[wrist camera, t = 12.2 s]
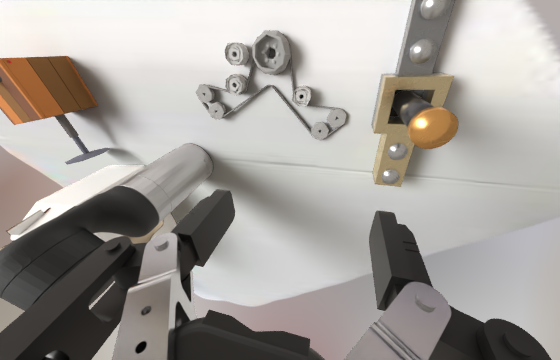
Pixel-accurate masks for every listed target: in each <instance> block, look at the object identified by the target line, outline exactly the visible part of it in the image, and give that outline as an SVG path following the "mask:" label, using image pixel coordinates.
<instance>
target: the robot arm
mask: <svg viewBox="0 0 560 360" xmlns="http://www.w3.org/2000/svg"><path fill="white" fill-rule="evenodd" d="M212 171H213V164H212V161H211V159H210V157H209V155H208V154H207V153H206V152H205V151H204V150H203V149H202V148H200V147H199V146H197V145H194V144H184V145H182V146H181V147H179V148H177V149H174V150H172V151H171V152H169V153H167V154H166V155H164V156H162V157H161V158H159V159H157V160H156V161H154V162H152V163H151V164H149V165H147V166H146V167H145V168H144V169H142V170H141V171H139V172H137V173H136V174H134V175H132V176H131V177H129V178H128V179H126V180H124V181H123V182H121V183H119V184H118V185H116V186H115V187H113V188H111V189H109V190H108V191H106V192H103V193H101V194H98V195H96V196H94V197H92V198H90V199H89V200H87V201H85V202H83V203H82V204H80V205H78V206H76V207H74V208H73V209H71V210H69V211H67V212H65V213H63V214H61V215H59V216H58V217H56V218H54V219H52V220H50V221H48V222H46V223H44V224H42V225H40V226H39V227H37V228H35V229H33V230H31V231H30V232H28V233H26V234H24V235H23V236H21V237H19V238H18V239H16V240H15V241H13V242H12V243H10V244H8V245H7V246H5V247H4V248H3V249H1V250H0V298H2V299H4V300H6V301H8V302H10V303H11V304H13V305H15V306H17V307H19V308H21V309H22V310H24V311H25V312H24V313H23V314H21V315H20V316H19V317H18V318H17V319H16V320H14V321H13V322H12V323H11V324H10V325H9V326H8V327H6V328H5V329H4V330H3V331H2V332H1V333H0V360H91V359H92V358H93V357H94V355H95V354H96V353H97V352H98V350H99V349H100V347H101V346H102V345H103V343H104V342H105V341H106V340H107V338H108V337H109V336H110V334H111V333H112V332H113V330H114V329H115V328H116V327H117V325H118V324H119V323H120V321H121V323H120V327H119V331H118V336H117V340H116V344H115V349H114V353H113V357H112V360H325V359H324V358H323V357H321V355H319V354H318V353H317V352H316V351H314V350H313V349H312V348H310V339H308V338H305V337H301V336H298V335H294V334H291V333H288V332H284V331H265V332H255V331H252V330H251V329H249V328H248V327H246V326H245V325H243V324H242V323H240V322H239V321H238V320H236V319H235V318H233V317H232V316H229V315H226V314H222V313H219V312H215V311H212V310H209V311H208V313H207V315H206V317H203V318H197V316H196V312H195V306H194V289H193V272H192V269H193V267H194V266H195V265H197V266H201V267H203V266H204V265H205V263H206V262H207V260H208V259H209V257H210V255H211V254H212V252H213V251H214V249H215V248H216V246H217V245H218V243H219V242H220V240H221V238H222V237H223V235H224V234H225V232H226V231H227V229H228V228H229V226H230V225H231V223H232V221H233V220H234V216H235V209H234V204H233V199H232V194H231V192H230V191H227V190H219V189H217V190H216V191H215V192H214V193H213V194H212V195H211V196H210V197H206V198H205V199H203V200H201V201H200V202H199V203H198V204H197V205H196V206H195V207H194V209H192V210H191V211H190V213H189V214H188V215H187V216H186V217H185V218H184V219H183V220H182V221H181V222H180V223H179V224H178V225H177V226H176V227H175V228H174V229H173V230H172V231H171V232H170V233H162V234H159V235H157V236H155V237H154V238H152V239H151V240H150V241H149V242H147V243H136V244H133V243H132V241H131V240H130V238H129V237H143V236H145V235H147V234H148V233H150V232H151V231H152V230H153V229H154V228H155V227H156V226H157V225H158V224H159V223H160V222H161V221H162V220H163V219H164V218H165V217H166V216H168V215H169V214H170V213H171V212H172V211H173V210H174V209H175V208H176V207H177V206H178V205H179V204H180V203H181V202H182V201H183V200H184V199H185V198H187V197H188V196H189V195H190V194H191V193H192V192H193V191H194V190H195V189H196V188H197V187H198V186H199V185H200V184H201V183H202V182H204V181H205V180H206V179H207V178H208V177H209V176H210V175H211V173H212ZM99 232H106V233H115V234H120V235H124V236H120V237H116V238H113V239H111V240H109V241H107V242H105V241H104V240H102V239H100V238H99V237H97V236H96V235H94V234H93V233H99ZM126 236H129V237H126ZM416 244H417V243H416V240H415V238H414V235H413V233H412V232H411V231H410V230H409V229H408V228H407V226H406V225H402V224H397V221H396V217H395V214H394V213H392V212H384V211H376V213H375V217H374V220H373V224H372V227H371V231H370V237H369V245H370V253H371V261H372V269H373V277H374V285H375V293H376V300H377V309H379V310H383V311H385V312H384V313H383V315H382V316H381V317H380V318H379V320H378V321H377V322H376V323H373V324H372V325H371V326H370V327H369V329H368V330H367V331H366V333H365V334H364V335H363V336H362V337H361V339H360V340H359V341H358V342H357V344H356V345H355V346H354V348H353V349H352V350H351V351H350V353H349V354H348V355H347V356H346V358H345V359H344V360H551V358H550V357H549V355H548V354H547V352H546V351H545V349H544V348H543V347H542V346H541V345H540V343H539V342H538V341H537V340H536V339H535V338H534V337H532V336H531V335H530V334H529V333H527V332H526V331H525V330H523V329H522V328H520V327H519V326H517V325H515V324H513V323H511V322H508V321H505V320H502V319H490V320H488V321H487V322H486V323H483V322H481V321H479V320H477V319H475V318H473V317H471V316H469V315H466V314H464V313H462V312H460V311H458V310H456V309H454V308H453V307H451V306H450V305H449V304H448V302H447V301H446V299H445V298H444V297H443V296H442V295H441V294H440V293H439V292H438V291H437V290H435V289H434V288H433V286H432V284H431V281H430V279H429V276H428V273H427V270H426V268H425V265H424V262H423V259H422V257H421V254H420V253H419V252H420V251H419V249H418V246H417V245H416ZM114 280H115V283H114V284H113V285H112V286H111V288H110V289H109V290H108V291H107V292H106V293H105V294H104V295H103V296H102V297H101V299H100V300H99V301H98V302H97V303H96V304H95V305H94V306H93V307H92V308H91V310H89V305H91V303H93V302H94V301H95V300H96V299H97V298H98V297H99V296H100V295H101V294H102V293H103V292H104V291H105V290H106V289H107V288H108V287H109V286H110V285H111V284H112V283H113V281H114Z"/></svg>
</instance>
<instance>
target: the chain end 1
mask: <svg viewBox="0 0 560 360" xmlns="http://www.w3.org/2000/svg"><path fill="white" fill-rule="evenodd" d="M454 2H455V0H412V3H411V7H410V11H409V16H408V20H407V24H406V29H405V33H404V37H403V42H402V46H401V51H400V55H399V59H398V64H397V68H396V72H395V74H382V75H381V80H380V85H379V90H378V95H377V100H376V105H375V110H374V115H373V120H372V128H373V126H374V121H375V116H376V111H377V106H378V101H379V96H380V91H381V86H382V81H383V76H391V75H440V74H444V73H432V72H433V68H434V65H435V62H436V59H437V56H438V53H439V49H440V46H441V43H442V40H443V37H444V34H445V30H446V27H447V24H448V21H449V18H450V15H451V11H452V8H453V5H454ZM428 92H429V90H424V91H423V95H422V99H423V100H425V101H426V98H427V95H428ZM388 120H401V118H400V117H393V116H389V119H388Z"/></svg>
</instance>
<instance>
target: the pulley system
mask: <svg viewBox="0 0 560 360" xmlns="http://www.w3.org/2000/svg"><path fill="white" fill-rule="evenodd" d="M271 48H272V49H274V50H275V53H276V56H275V57H274V59H273V58H272V57H270V56H269V53H270V50H271ZM252 54H253V62H252V66H251V70H250V73H249V77H248V81H247V79H246V78H245V77H244V76H242V75H241V74H234V75H231V76H229V77H228V78H227V79H226V88H227V90H225V89H221V88H217V87H213V86H209V85H205V84H204V85H199V87H198V89H197V91H196V94H197V96H198V98H199V99H200V101H201V102H202V104H203V105H204V106H205V108H206V109H207V111H208V112H209V113H210V115H211V117H212V118H214V119H221V118H223V117H225V116H226V115H228V114H229V113H230V112H232V111H233V110H235V109H236V108H238V107H239V106H240V105H242V104H243V103H245V102H246V101H248V100H249V99H250V98H252V97H253V96H255V95H256V94H258V93H259V92H260V91H262V90H263V89H265V88H266V87H268V86H272V85H267V86H266V87H264V88H263V89H261V90H260V91H258V92H257V93H255V94H254V95H253V96H251V97H250V98H248V99H247V100H245V101H244V102H242V103H241V104H240V105H238V106H237V107H235V108H234V109H232V110H231V111H230V112H228V113H227V114H226V108H225V106H224V105H223V104H221V103H220V102H215V103H213V104H211V105H210V107H209V106H208V105H207V104H206V103H207V102H210V101H212V100H214V96H215V93H214V91H213V89H218V90H222V91H226V92H229V93H232V94H234V95H238V94H242V93H244V92H246V91H247V88H248V84H249V81H250V77H251V73H252V70H253V66H254V62H255V63H256V65H257V67H258V68H259V69H260V70H261V71H263V72H264V73H265V74H270V75H275V74H280V73H281V72H282V71H284V70H285V69H286V66H287V64H288V62H289V60H290V65H291V77H292V89H293V95H292V101H293V102H294V103H295V104H296V105H297V106H312V107H321V108H329V109H335V110H332V111H331V112H330V113H329V115H328V118H327V121H328V122H329V124H330V125H331V126H332V127H333V128H335V129H334V130H332V131H331V132H329V129H328V126H327V125H326V124H325V123H323V122H317V123H316V124H315V125H314V126H313V127H312V128H311V130H310V129H309V127H308V126H307V125H306V124H305V123H304V121H303V120H302V119H301V118H300V117H299V115H298V114H297V113H296V112H295V111H294V109H293V108H292V107H291V106H290V105H289V103H288V102H287V101H286V100H285V99H284V97H283V96H282V95H281V94H280V93H279V92H278V90H277V89H276V88H275V87H274V86H272V87H273V88H274V90H275V91H276V92H277V93H278V95H279V96H280V97H281V98H282V99H283V101H284V102H285V103H286V104H287V106H288V107H289V108H290V109H291V110H292V112H293V113H294V114H295V115H296V116H297V118H298V119H299V120H300V121H301V123H302V124H303V125H304V126H305V127H306V129H307V130H308V131H309V132H310V134H311V135H312V137H314V138H315V139H318V140H322V139H324V138H326V137H327V136H328V135H330V134H331V133H332V132H334V131H335V130H336V129H338V128H339V127H341V126H342V125H343V124H344V123H345V121H346V113H345V112H344V110H342V109H340V108H333V107H324V106H316V105H307V104H308V103H309V101H310V99H311V90H310V89H309V88H308V87H307V86H299V87H298V88H296V89H295V90H294V88H293V76H292V63H291V51H290V44H289V42H288V40H287V39H286V37H285V36H284V34H282V33H280V32H279V31H270V30H269V31H264V32H263V33H262V34H261V35H260V36H259V37H257V39H256V41H255V42H254V44H253V45H252ZM225 56H226V59H227V61H228V62H229V63H230V64H231V65H245V64H246V63H247V61H248V60H249V52H248V50H247V48H246V46H244V45H243V44H242V43H228V44H227V46H226V49H225ZM212 88H213V89H212ZM301 94H302V95H303V96H304V97H302V96H301ZM336 116H337V117H338V118H337V119H336ZM336 127H337V128H336ZM319 130H321V131H319ZM328 132H329V133H328Z"/></svg>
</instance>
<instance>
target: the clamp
mask: <svg viewBox="0 0 560 360" xmlns="http://www.w3.org/2000/svg"><path fill="white" fill-rule="evenodd" d="M95 106H98V105H97V103H96V101H95V100H94V98H93V96H92V95H91V93H90V92H89V90H88V88H87V87H86V85H85V83H84V82H83V80H82V79H81V77H80V75H79V74H78V72H77V70H76V69H75V67H74V66H73V64H72V62H71V61H70V59H69V57H68V56H55V57H27V58H0V109H1V110H2V111H3V112H4V114H5V115H6V116H7V117H8V118H9V119H10V121H11V122H12V123H13V124H14V125H16V124H21V123H26V122H30V121H35V120H40V119H45V118H49V117H53V116H55V117H56V119H57V120H58V122H59V123H60V124H61V126H62V127H63V128H64V130H65V131H66V132H67V134H68V135H69V136H70V138H73V140H74V141H75V143H76V144H77V145H78V147H79V148H80V149H81V151H82V152H83V153H84V154H82V155H80V156H77V157H75V158H73V159H71V160H69V161H67V162H65V163H66V164H71V163H76V162H80V161H84V160H86V159H89V158H92V157H95V156H97V155H100V154H102V153H104V152H106V151H107V150H109V148H103V149H99V150H94V151H91V152H89V151H88V150H87V148H86V147H85V145H84V144H83V143H82V141H81V140H80V138H79V137H78V133H77V132H76V131H75V129H74V128H73V126H72V125H71V124H70V122H69V121H68V119H67V118H66V116H65V115H64V114H65V113H70V112H74V111H78V110H82V109H86V108H90V107H95Z"/></svg>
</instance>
